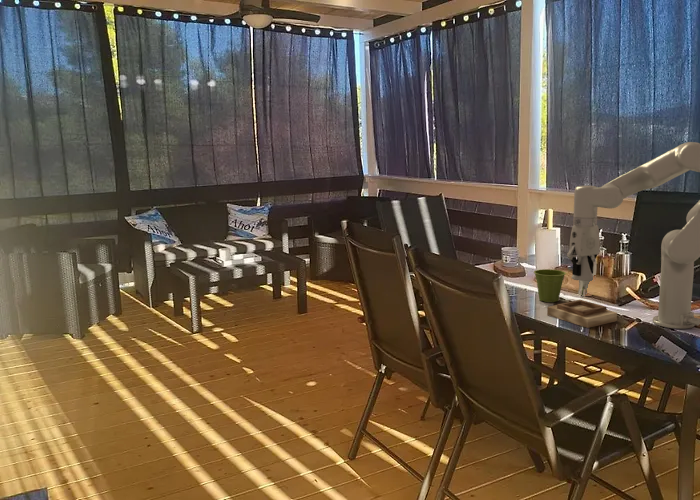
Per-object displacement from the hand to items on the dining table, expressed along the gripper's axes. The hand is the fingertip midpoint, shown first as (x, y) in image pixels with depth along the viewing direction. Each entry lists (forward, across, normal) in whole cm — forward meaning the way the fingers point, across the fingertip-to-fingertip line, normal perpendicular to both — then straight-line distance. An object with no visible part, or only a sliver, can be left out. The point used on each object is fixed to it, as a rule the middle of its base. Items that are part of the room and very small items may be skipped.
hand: (582, 273), depth 211 cm
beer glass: (+16, +26, +21) cm, 37 cm away
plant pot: (+16, +8, +23) cm, 29 cm away
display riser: (+16, 0, 0) cm, 16 cm away
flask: (+2, 0, 0) cm, 2 cm away
